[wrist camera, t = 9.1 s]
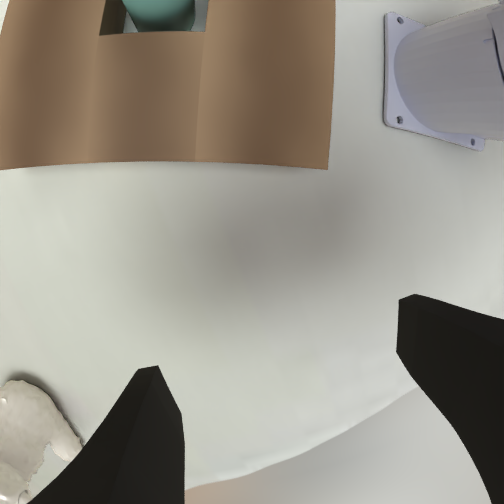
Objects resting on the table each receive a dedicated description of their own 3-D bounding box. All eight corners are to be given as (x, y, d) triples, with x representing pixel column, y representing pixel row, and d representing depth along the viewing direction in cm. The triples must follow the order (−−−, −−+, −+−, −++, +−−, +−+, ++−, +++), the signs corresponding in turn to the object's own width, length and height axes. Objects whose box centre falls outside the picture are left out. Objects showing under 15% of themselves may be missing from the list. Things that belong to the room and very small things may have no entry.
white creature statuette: (-3, 419, 20) (-43, 512, 9) (-20, 351, 18) (-88, 454, 6) (85, 451, 22) (65, 560, 11) (82, 389, 20) (43, 526, 9)
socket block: (310, -63, 13) (331, -94, 9) (300, 164, 17) (327, 169, 14) (65, -61, 10) (46, -89, 6) (24, 164, 15) (-13, 171, 11)
